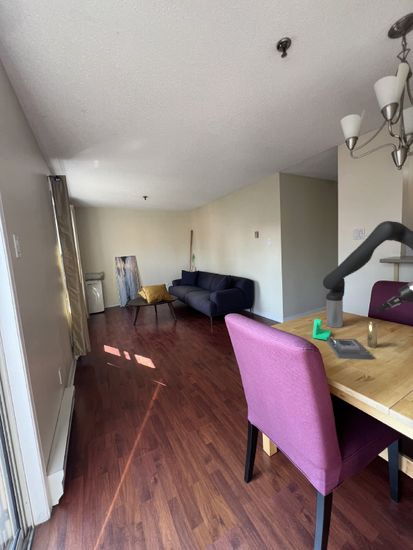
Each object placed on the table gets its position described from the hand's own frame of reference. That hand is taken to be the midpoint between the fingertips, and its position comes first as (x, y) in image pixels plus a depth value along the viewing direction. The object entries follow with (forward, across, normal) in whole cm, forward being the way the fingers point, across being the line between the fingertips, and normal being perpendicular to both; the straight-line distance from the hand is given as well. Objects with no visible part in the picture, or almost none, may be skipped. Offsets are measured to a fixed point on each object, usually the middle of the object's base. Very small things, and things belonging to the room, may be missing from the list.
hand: (378, 310), depth 108 cm
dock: (+22, +4, +9) cm, 24 cm away
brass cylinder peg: (+15, -8, +13) cm, 21 cm away
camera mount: (+34, -6, -2) cm, 34 cm away
